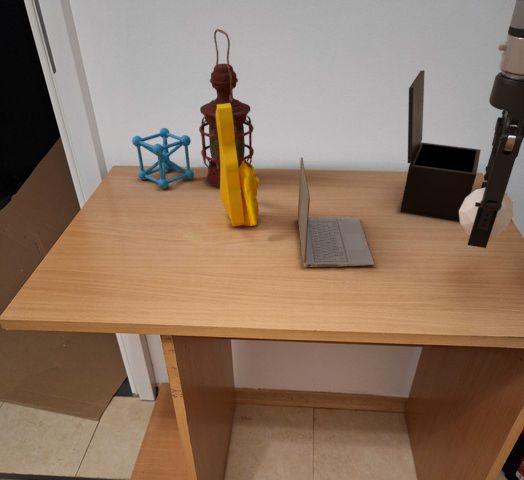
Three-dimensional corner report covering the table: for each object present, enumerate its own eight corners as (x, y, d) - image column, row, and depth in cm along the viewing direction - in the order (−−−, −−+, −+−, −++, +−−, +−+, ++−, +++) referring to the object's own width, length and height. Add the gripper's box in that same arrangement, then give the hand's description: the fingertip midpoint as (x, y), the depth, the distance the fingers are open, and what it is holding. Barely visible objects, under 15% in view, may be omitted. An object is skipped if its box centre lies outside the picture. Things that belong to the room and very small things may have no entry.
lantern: (263, 184, 112) (262, 32, 92) (214, 194, 108) (202, 37, 89) (242, 167, 121) (237, 23, 101) (196, 175, 117) (181, 27, 97)
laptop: (373, 267, 85) (386, 197, 77) (303, 268, 85) (307, 197, 77) (358, 220, 99) (367, 156, 90) (297, 221, 99) (300, 156, 90)
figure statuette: (266, 240, 93) (266, 118, 78) (225, 243, 92) (217, 120, 77) (254, 200, 106) (252, 90, 91) (218, 203, 105) (211, 91, 91)
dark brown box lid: (424, 70, 97) (420, 70, 97) (413, 87, 86) (408, 88, 87) (422, 139, 105) (418, 140, 105) (411, 163, 95) (407, 163, 95)
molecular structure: (163, 191, 110) (156, 146, 103) (137, 179, 115) (129, 136, 108) (196, 179, 115) (192, 135, 108) (170, 168, 120) (164, 125, 114)
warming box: (467, 194, 108) (480, 149, 102) (462, 222, 98) (476, 174, 92) (410, 185, 112) (419, 142, 105) (399, 212, 102) (409, 165, 95)
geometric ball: (481, 256, 78) (496, 235, 70) (443, 225, 80) (454, 201, 72) (514, 223, 78) (533, 199, 71) (475, 194, 80) (489, 166, 73)
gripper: (499, 56, 71) (459, 203, 86) (493, 91, 57) (447, 260, 72) (555, 59, 69) (504, 209, 84) (564, 96, 54) (501, 269, 70)
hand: (478, 232), depth 78 cm, fingers closed on geometric ball, 8 cm apart
